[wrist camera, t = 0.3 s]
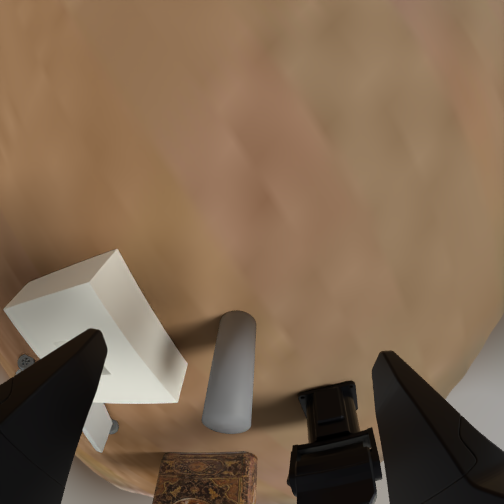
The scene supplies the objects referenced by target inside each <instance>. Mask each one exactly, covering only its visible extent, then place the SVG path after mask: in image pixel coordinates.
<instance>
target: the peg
mask: <svg viewBox="0 0 504 504" xmlns="http://www.w3.org/2000/svg"><path fill="white" fill-rule="evenodd" d="M255 341H256V321H255V319H254V318H253V317H252V316H251V315H250V314H248V313H246V312H243V311H231V312H228V313H226V314H225V315H223V316H222V318H221V320H220V324H219V330H218V335H217V340H216V345H215V350H214V356H213V361H212V366H211V372H210V377H209V382H208V388H207V393H206V399H205V404H204V410H203V415H202V422H203V424H204V425H205V426H206V427H207V428H209V429H211V430H214V431H216V432H220V433H227V434H236V433H242V432H245V431H247V430H248V429H249V428H250V427H251V415H252V397H253V379H254V360H255Z"/></svg>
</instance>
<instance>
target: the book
mask: <svg viewBox="0 0 504 504" xmlns="http://www.w3.org/2000/svg"><path fill="white" fill-rule="evenodd" d="M256 481H257V457H256V456H255V455H254V454H252V453H249V452H244V451H243V452H228V453H166V454H165V455H164V456H163V459H162V462H161V466H160V471H159V475H158V480H157V484H156V489H155V494H154V498H153V503H152V504H255V502H256Z"/></svg>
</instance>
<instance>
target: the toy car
mask: <svg viewBox="0 0 504 504" xmlns="http://www.w3.org/2000/svg"><path fill="white" fill-rule="evenodd" d="M34 363H35V361H34V359H33V358H31V357H29V356H27V355H25V354H24V355H22V356H21V357H20V358H19V359H18V366H19V368H20V369H21V370H22V371H23V370H24V369H26V368H27V367H29V366H31V365H32V364H34ZM21 370H19V369H18V371H17V372H16V375H17V374H18V373H20V372H21ZM113 424H114V425H113ZM118 429H119V425H118V423H117V421H115V420H112V419H111V418H110V416H109V414H108V412H107V409H106V407H105V405H104V403H95V402H93V403H92V405H91V408H90V411H89V413H88V416H87V419H86V422H85V425H84V427H83V430H82V431H83V433H84V434H85V436H86V437H87V438H88V440H89V441H90V443H91V444H92V445H93V447H94V448H95V450H96V451H98V452H101V453H102V452H103V449H104V446H105V443H106V440H107V438H108V435H109V434H114V433H116V432H117V431H118Z"/></svg>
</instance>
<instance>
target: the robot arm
mask: <svg viewBox="0 0 504 504" xmlns="http://www.w3.org/2000/svg"><path fill="white" fill-rule="evenodd" d="M107 352H108V349H107V345H106V342H105V339H104V337H103V334H102V332H101V331H100V330H99V329H94V328H89V329H87V330H86V331H84V332H82V333H81V334H79V335H78V336H76V337H74V338H73V339H71V340H70V341H68V342H66V343H65V344H63V345H62V346H60V347H59V348H57V349H55V350H54V351H52V352H51V353H49V354H48V355H46V356H44V357H43V358H41V359H40V360H38V361H37V362H35V363H34V364H32V365H31V366H29V367H27V368H26V369H24V370H23V371H21V372H20V373H18V374H17V375H15V376H14V377H12V378H10V379H9V380H8V381H6V382H4V383H3V384H1V385H0V504H61V501H62V497H63V493H64V489H65V485H66V481H67V478H68V474H69V471H70V468H71V464H72V461H73V458H74V455H75V451H76V448H77V445H78V442H79V439H80V436H81V433H82V430H83V427H84V425H85V422H86V419H87V416H88V413H89V411H90V408H91V405H92V403H93V400H94V397H95V395H96V392H97V389H98V385H99V381H100V378H101V374H102V370H103V367H104V363H105V360H106V356H107ZM372 380H373V390H374V401H375V412H376V419H377V424H378V429H379V435H380V440H381V446H382V452H383V458H384V463H385V470H386V477H387V484H388V492H389V501H390V504H504V451H502V450H501V449H500V448H499V447H497V446H496V445H495V444H493V443H492V442H491V441H490V440H488V439H487V438H486V437H485V436H484V435H482V434H481V433H480V432H479V431H478V430H476V429H475V428H474V427H473V426H472V425H471V424H470V423H469V422H468V421H467V420H466V419H465V418H464V417H462V416H461V415H460V413H458V412H457V411H456V410H455V409H454V408H453V407H452V406H451V405H450V404H449V403H448V402H447V401H446V400H445V399H444V398H443V397H442V396H441V395H440V394H439V393H438V392H436V391H435V390H434V389H433V388H432V387H431V386H430V385H429V384H428V383H427V382H426V381H425V380H424V379H423V378H422V377H421V376H420V375H418V374H417V373H416V372H415V371H414V370H413V369H412V368H411V367H410V366H409V365H408V364H407V363H406V362H404V361H403V360H402V359H401V358H400V357H399V356H398V355H397V354H396V353H395V352H393V351H381V352H380V353H379V355H378V357H377V360H376V362H375V364H374V366H373V369H372ZM298 399H299V401H300V404H301V406H302V409H303V411H304V413H305V416H306V418H307V427H308V440H309V443H308V444H303V445H293V449H292V452H291V459H290V469H289V475H288V478H287V484H288V485H289V486H290V487H291V489H292V492H293V494H294V496H296V497H297V504H374V503H375V501H376V498H377V490H376V483H375V481H377V480H381V479H382V472H381V466H380V460H379V455H378V451H377V446H376V442H375V438H374V433H373V429H372V427H371V428H368V429H367V430H364V431H360V428H359V423H358V418H357V413H356V410H357V409H358V405H357V395H356V386H355V382H353V381H351V382H347V383H343V384H339V385H335V386H330V387H326V388H321V389H317V390H312V391H307V392H302V393H299V394H298ZM369 448H371V449H369Z"/></svg>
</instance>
